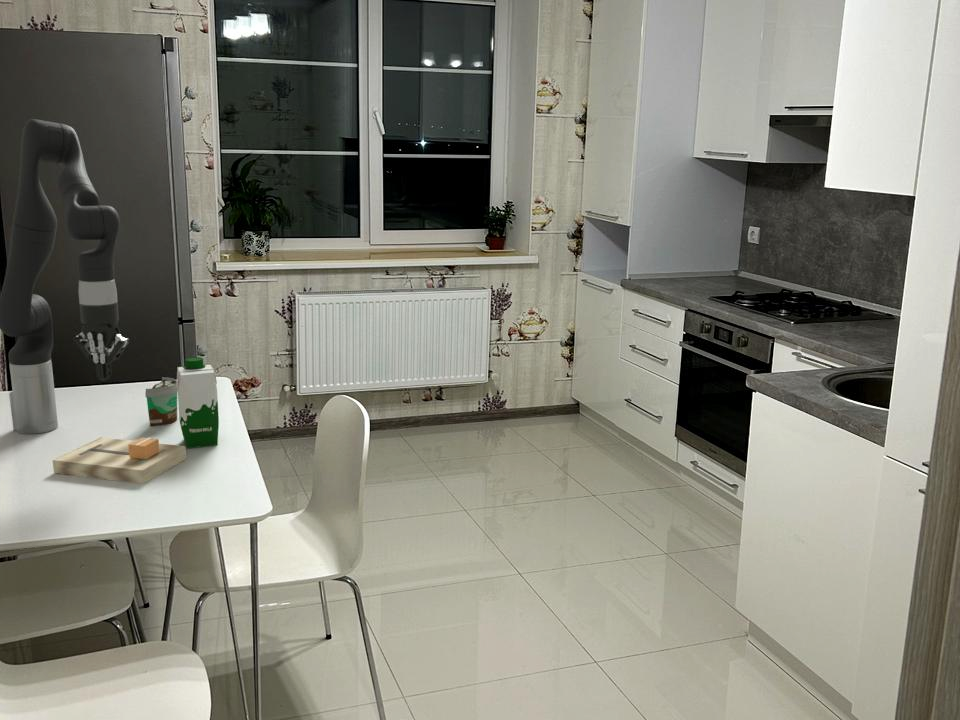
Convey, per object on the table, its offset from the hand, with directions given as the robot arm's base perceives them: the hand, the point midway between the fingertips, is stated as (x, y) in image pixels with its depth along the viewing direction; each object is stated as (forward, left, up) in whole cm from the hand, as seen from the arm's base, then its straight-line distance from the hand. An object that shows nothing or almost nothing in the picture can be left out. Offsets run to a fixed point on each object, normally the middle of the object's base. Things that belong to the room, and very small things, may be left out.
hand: (104, 379), depth 198 cm
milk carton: (+11, +18, -20) cm, 29 cm away
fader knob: (+9, -1, -16) cm, 19 cm away
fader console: (+3, -1, -19) cm, 20 cm away
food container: (-6, +31, -20) cm, 37 cm away
